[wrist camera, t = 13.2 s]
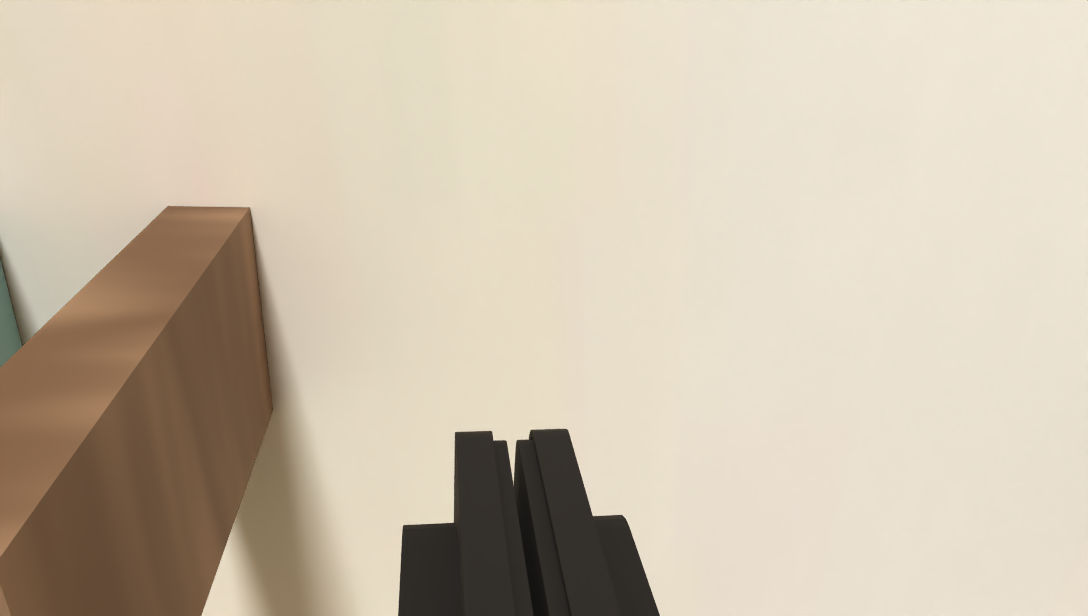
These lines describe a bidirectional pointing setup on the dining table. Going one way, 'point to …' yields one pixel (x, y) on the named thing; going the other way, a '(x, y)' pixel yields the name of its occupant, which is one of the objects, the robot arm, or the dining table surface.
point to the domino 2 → (135, 426)
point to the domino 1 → (7, 323)
